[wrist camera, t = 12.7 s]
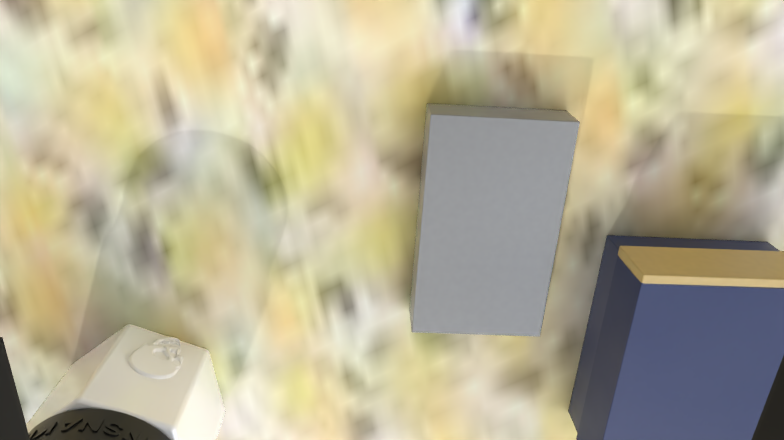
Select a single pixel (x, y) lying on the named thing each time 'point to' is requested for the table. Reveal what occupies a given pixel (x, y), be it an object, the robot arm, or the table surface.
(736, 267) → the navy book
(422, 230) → the grey stack
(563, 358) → the table surface
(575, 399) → the navy stack
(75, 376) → the jar
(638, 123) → the table surface
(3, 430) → the robot arm
